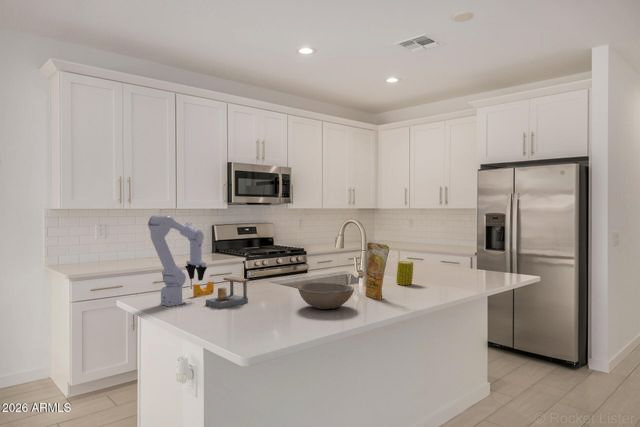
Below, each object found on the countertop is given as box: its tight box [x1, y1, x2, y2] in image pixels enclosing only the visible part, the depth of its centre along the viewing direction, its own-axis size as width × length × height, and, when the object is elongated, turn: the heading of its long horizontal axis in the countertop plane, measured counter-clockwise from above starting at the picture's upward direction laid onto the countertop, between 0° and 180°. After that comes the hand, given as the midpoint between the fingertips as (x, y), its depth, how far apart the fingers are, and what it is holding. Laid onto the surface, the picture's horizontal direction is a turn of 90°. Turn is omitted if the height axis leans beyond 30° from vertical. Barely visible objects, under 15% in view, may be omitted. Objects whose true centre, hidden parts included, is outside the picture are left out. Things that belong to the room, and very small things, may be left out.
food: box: [395, 260, 414, 286], centre depth 264 cm, size 15×12×10 cm
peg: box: [217, 287, 227, 301], centre depth 209 cm, size 4×4×8 cm
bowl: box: [297, 282, 355, 310], centre depth 204 cm, size 26×26×10 cm
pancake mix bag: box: [365, 241, 390, 301], centre depth 227 cm, size 7×19×28 cm, turn 22°
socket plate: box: [205, 276, 250, 309], centre depth 212 cm, size 16×13×12 cm
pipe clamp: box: [192, 280, 215, 298], centre depth 234 cm, size 12×4×6 cm, turn 149°
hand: (196, 279), depth 226 cm, fingers open, 7 cm apart
